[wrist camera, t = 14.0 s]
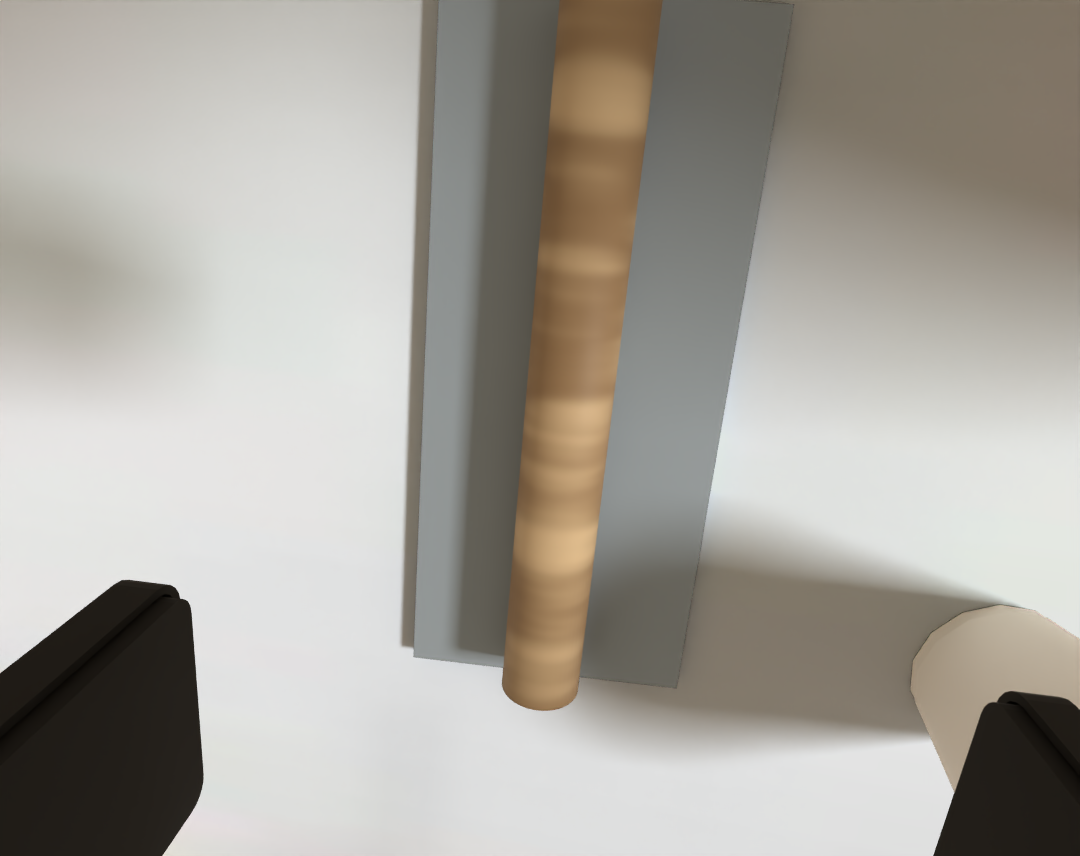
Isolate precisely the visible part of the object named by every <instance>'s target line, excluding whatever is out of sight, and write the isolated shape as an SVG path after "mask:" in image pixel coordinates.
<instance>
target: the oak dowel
mask: <svg viewBox="0 0 1080 856" xmlns="http://www.w3.org/2000/svg"><path fill="white" fill-rule="evenodd" d="M662 2H663V0H560V1H559V13H558V25H557V37H556V49H555V60H554V72H553V84H552V96H551V108H550V120H549V132H548V143H547V155H546V167H545V179H544V191H543V203H542V214H541V226H540V238H539V250H538V262H537V274H536V286H535V297H534V309H533V321H532V333H531V345H530V357H529V369H528V380H527V392H526V404H525V416H524V428H523V440H522V451H521V463H520V475H519V487H518V499H517V511H516V523H515V534H514V546H513V558H512V570H511V582H510V594H509V606H508V617H507V629H506V641H505V653H504V665H503V677H502V687H503V690H504V692H505V694H506V695H507V696H508V697H509V698H510V699H511V700H512V701H513V702H515V703H517V704H518V705H520V706H523V707H525V708H529V709H533V710H541V711H548V710H555V709H559V708H562V707H564V706H566V705H568V704H569V703H571V702H572V701H573V700H574V699H575V697H576V695H577V692H578V684H579V676H580V668H581V660H582V652H583V644H584V636H585V628H586V619H587V611H588V603H589V595H590V587H591V579H592V571H593V563H594V554H595V546H596V538H597V530H598V522H599V514H600V506H601V498H602V490H603V481H604V473H605V465H606V457H607V449H608V441H609V433H610V425H611V416H612V408H613V400H614V392H615V384H616V376H617V368H618V360H619V352H620V343H621V335H622V327H623V319H624V311H625V303H626V295H627V287H628V278H629V270H630V262H631V254H632V246H633V238H634V230H635V222H636V214H637V205H638V197H639V189H640V181H641V173H642V165H643V157H644V149H645V140H646V132H647V124H648V116H649V108H650V100H651V92H652V84H653V76H654V67H655V59H656V51H657V43H658V35H659V27H660V19H661V11H662Z"/></svg>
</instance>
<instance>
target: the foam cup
mask: <svg viewBox="0 0 1080 856" xmlns="http://www.w3.org/2000/svg"><path fill="white" fill-rule="evenodd" d="M910 690H911V692H912V694H913V696H914V698H915V703H916V705H917V708H918V710H919V712H920V714H921V717H922V719H923V721H924V724H925V726H926V728H927V731H928V733H929V735H930V738H931V740H932V742H933V744H934V747H935V749H936V751H937V754H938V756H939V758H940V761H941V763H942V765H943V767H944V770H945V772H946V774H947V777H948V779H949V781H950V784H951V786H952V788H953V790H954V793H955V790H956V787H957V784H958V781H959V778H960V775H961V772H962V769H963V766H964V763H965V760H966V757H967V754H968V751H969V748H970V745H971V742H972V739H973V736H974V733H975V730H976V727H977V724H978V721H979V718H980V715H981V712H982V710H983V708H984V707H985V706H986V705H987V704H988V703H991V702H997V700H998V699H999V697H1000V696H1001V695H1002V694H1003V693H1005V692H1009V691H1017V692H1024V693H1032V694H1040V695H1048V696H1056V697H1062V698H1065V699H1068V700H1069V701H1071V702H1072V703H1073V704H1074V705H1076V706H1077V707H1078V708H1079V709H1080V639H1079V638H1077V637H1076V636H1074V635H1073V634H1071V633H1070V632H1068V631H1067V630H1065V629H1064V628H1062V627H1061V626H1059V625H1058V624H1056V623H1055V622H1053V621H1052V620H1050V619H1049V618H1046V617H1044V616H1043V615H1041V614H1040V613H1038V612H1037V611H1035V610H1029V609H1023V608H1017V607H1011V606H1005V605H996V606H991V607H987V608H982V609H978V610H973V611H968V612H964V613H961V614H960V615H958V616H957V617H955V618H953V619H952V620H950V621H949V622H947V623H946V624H944V625H943V626H941V627H940V628H938V629H937V630H935V631H933V632H932V633H931V634H930V636H929V637H928V639H927V640H926V642H925V643H924V645H923V646H922V648H921V649H920V651H919V652H918V654H917V655H916V657H915V658H914V660H913V666H912V677H911V688H910Z"/></svg>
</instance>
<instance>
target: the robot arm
mask: <svg viewBox="0 0 1080 856" xmlns="http://www.w3.org/2000/svg"><path fill="white" fill-rule="evenodd" d="M202 785H203V761H202V748H201V734H200V721H199V708H198V694H197V681H196V667H195V654H194V641H193V627H192V614H191V608H190V605H189V603H188V601H186V600H184V599H180V596H179V593H178V591H177V590H176V588H175V587H173V586H171V585H165V584H157V583H149V582H141V581H133V580H121V581H120V582H118V583H116V584H114V585H113V586H112V587H110V588H109V589H108V590H107V591H105V592H104V593H103V594H101V595H100V596H99V597H98V598H96V599H95V600H94V601H92V602H91V603H90V604H89V605H87V606H86V607H85V608H83V609H82V610H81V611H80V612H78V613H77V614H76V615H74V616H73V617H72V618H71V619H69V620H68V621H67V622H65V623H64V624H63V625H62V626H60V627H59V628H58V629H56V630H55V631H54V632H53V633H51V634H50V635H49V636H48V637H46V638H45V639H44V640H42V641H41V642H40V643H39V644H37V645H36V646H35V647H33V648H32V649H31V650H30V651H28V652H27V653H26V654H24V655H23V656H22V657H21V658H19V659H18V660H17V661H15V662H14V663H13V664H12V665H10V666H9V667H8V668H6V669H5V670H4V671H3V672H1V673H0V856H162V855H163V854H164V852H165V851H166V849H167V848H168V847H169V845H170V844H171V842H172V841H173V839H174V838H175V836H176V835H177V833H178V832H179V830H180V829H181V827H182V826H183V824H184V823H185V821H186V820H187V819H188V817H189V816H190V814H191V813H192V811H193V809H194V808H195V806H196V804H197V801H198V799H199V797H200V793H201V790H202ZM933 856H1080V709H1079V708H1078V707H1077V706H1076V705H1074V704H1073V703H1072V702H1071V701H1069V700H1068V699H1065V698H1062V697H1056V696H1048V695H1040V694H1032V693H1024V692H1017V691H1009V692H1005V693H1003V694H1002V695H1001V696H1000V697H999V699H998V700H997V702H991V703H988V704H987V705H986V706H985V707H984V708H983V710H982V712H981V715H980V718H979V721H978V724H977V727H976V730H975V733H974V736H973V739H972V742H971V745H970V748H969V751H968V754H967V757H966V760H965V763H964V766H963V769H962V772H961V775H960V778H959V781H958V784H957V787H956V790H955V793H954V796H953V799H952V802H951V805H950V808H949V811H948V814H947V817H946V820H945V823H944V826H943V829H942V832H941V834H940V837H939V840H938V843H937V846H936V849H935V852H934V855H933Z"/></svg>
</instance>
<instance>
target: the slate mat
mask: <svg viewBox="0 0 1080 856" xmlns="http://www.w3.org/2000/svg"><path fill="white" fill-rule="evenodd" d="M559 1H560V0H439V2H438V28H437V55H436V81H435V107H434V133H433V159H432V186H431V212H430V238H429V264H428V291H427V317H426V343H425V369H424V396H423V422H422V448H421V474H420V500H419V527H418V553H417V579H416V605H415V632H414V657H416V658H424V659H433V660H441V661H450V662H458V663H467V664H475V665H483V666H492V667H500V668H503V665H504V653H505V641H506V629H507V617H508V606H509V594H510V582H511V570H512V558H513V546H514V534H515V523H516V511H517V499H518V487H519V475H520V463H521V451H522V440H523V428H524V416H525V404H526V392H527V380H528V369H529V357H530V345H531V333H532V321H533V309H534V297H535V286H536V274H537V262H538V250H539V238H540V226H541V214H542V203H543V191H544V179H545V167H546V155H547V143H548V132H549V120H550V108H551V96H552V84H553V72H554V60H555V49H556V37H557V25H558V13H559ZM793 8H794V4H784V3H771V2H758V1H745V0H663V2H662V11H661V19H660V27H659V35H658V43H657V51H656V59H655V67H654V76H653V84H652V92H651V100H650V108H649V116H648V124H647V132H646V140H645V149H644V157H643V165H642V173H641V181H640V189H639V197H638V205H637V214H636V222H635V230H634V238H633V246H632V254H631V262H630V270H629V278H628V287H627V295H626V303H625V311H624V319H623V327H622V335H621V343H620V352H619V360H618V368H617V376H616V384H615V392H614V400H613V408H612V416H611V425H610V433H609V441H608V449H607V457H606V465H605V473H604V481H603V490H602V498H601V506H600V514H599V522H598V530H597V538H596V546H595V554H594V563H593V571H592V579H591V587H590V595H589V603H588V611H587V619H586V628H585V636H584V644H583V652H582V660H581V668H580V676H579V677H585V678H593V679H602V680H610V681H619V682H627V683H635V684H644V685H652V686H661V687H669V688H677V683H678V677H679V671H680V665H681V660H682V654H683V648H684V642H685V636H686V630H687V625H688V619H689V613H690V607H691V601H692V596H693V590H694V584H695V578H696V572H697V566H698V561H699V555H700V549H701V543H702V537H703V532H704V526H705V520H706V514H707V508H708V502H709V497H710V491H711V485H712V479H713V473H714V468H715V462H716V456H717V450H718V444H719V438H720V433H721V427H722V421H723V415H724V409H725V404H726V398H727V392H728V386H729V380H730V374H731V369H732V363H733V357H734V351H735V345H736V340H737V334H738V328H739V322H740V316H741V310H742V305H743V299H744V293H745V287H746V281H747V276H748V270H749V264H750V258H751V252H752V246H753V241H754V235H755V229H756V223H757V217H758V212H759V206H760V200H761V194H762V188H763V182H764V177H765V171H766V165H767V159H768V153H769V148H770V142H771V136H772V130H773V124H774V118H775V113H776V107H777V101H778V95H779V89H780V84H781V78H782V72H783V66H784V60H785V55H786V49H787V43H788V37H789V31H790V25H791V20H792V14H793Z"/></svg>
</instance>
